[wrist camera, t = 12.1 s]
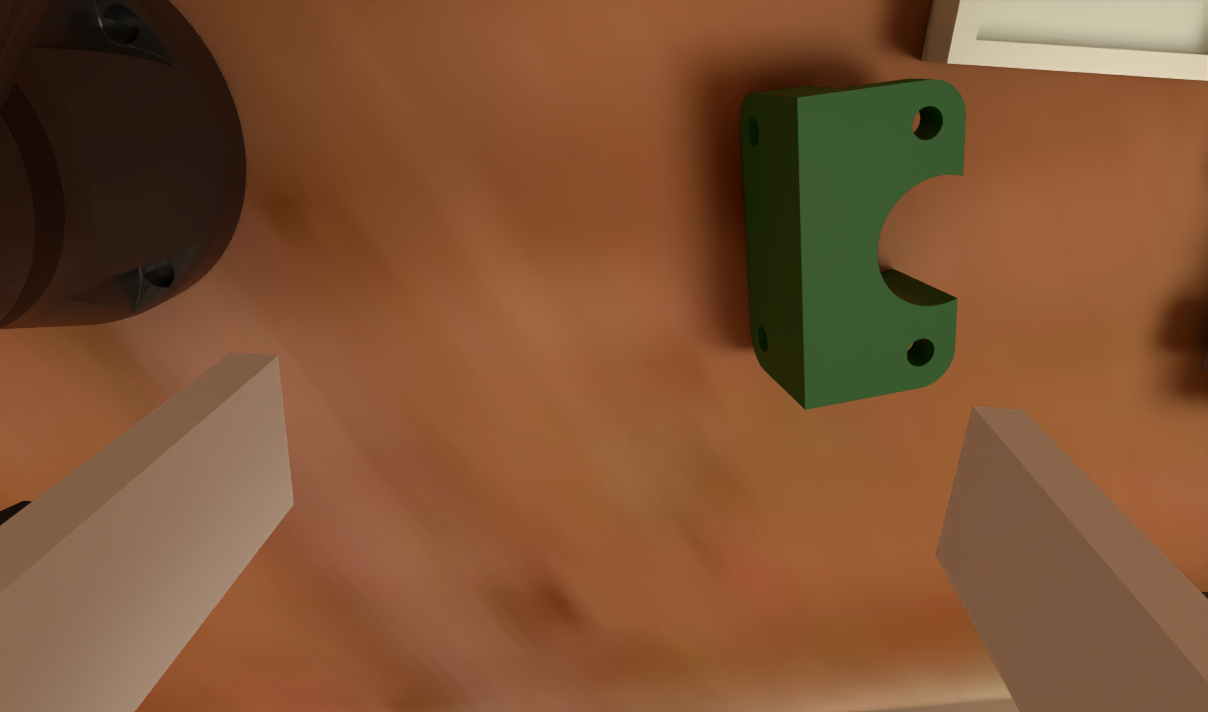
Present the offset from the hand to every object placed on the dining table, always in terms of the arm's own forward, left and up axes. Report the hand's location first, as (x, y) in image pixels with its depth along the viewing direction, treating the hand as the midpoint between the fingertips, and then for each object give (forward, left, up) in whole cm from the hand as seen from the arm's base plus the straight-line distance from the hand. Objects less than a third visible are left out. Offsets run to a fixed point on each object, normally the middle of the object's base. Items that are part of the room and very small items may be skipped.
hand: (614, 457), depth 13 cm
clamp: (+8, 0, -22) cm, 24 cm away
